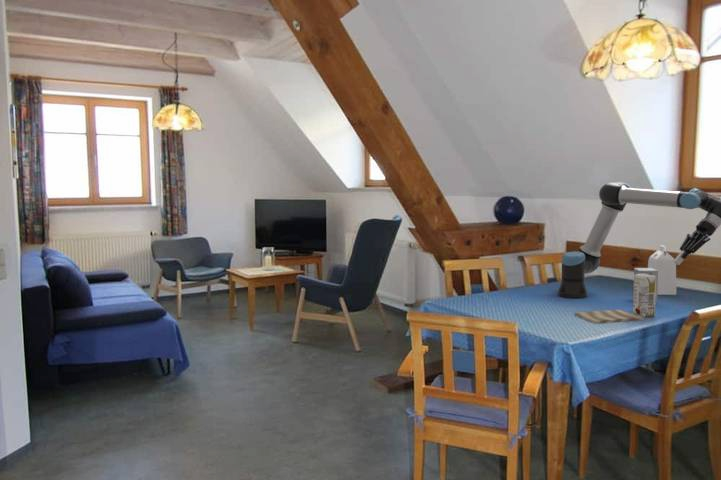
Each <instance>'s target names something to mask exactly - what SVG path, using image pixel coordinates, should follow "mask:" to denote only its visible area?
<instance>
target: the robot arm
mask: <svg viewBox="0 0 721 480" xmlns="http://www.w3.org/2000/svg"><path fill="white" fill-rule="evenodd" d="M598 196H599V200H601V206H602V207H601V209H600V210H599V213H598V215H597V218H596V220H595V222H594V223H593V226H592V228H591V230H590V232H589V234H588V237H587V239H586V241H585V243H584V244H583V245H581V246H579V249H578V251H568V252H565V253H563V254H562V256H561V280H560V281H561V282H560V284H559V287H558V290H557V295H558V296H559V297H561V298H562V297H563V298H567V299H584V298H587V297H588V289H587V286H586V283H585V275H586V274H590V273H593V272H594V271H596V270H597V269H598V268H599V267H600V263H601V260H600V259H601V256H602V254H601V249H602V247H603V245H604V243H605V241H606V239H607V237H608V236H609V233H610V232H611V229H612V227H613V225H614V223H615V221H616V218H617V217H618V215H619V213H621V212H623V211H624V210H625V208H626V206H627V204H632V205H645V206H656V207H657V206H659V207H670V208H680V209H681V208H682V209H686V210H694V209H701V210H702V211H705V212H707V213H706V214H705V215H704V216H703V217H702V219H701V220H700V221H699V222H698V224H697V225H696V226H695V231H693V232H692V234H690V233H687V234H686V237H685V239H684V241H683V242H682V244H681V246H679V250H680V252H679V253H678V255H677V256H676V257H675V258H674V262H675V263H676V266H680V265H681V264H682V262H684V260H685V259H686V258H687V257H688V256H689V255H692V254H695V253H696V252H697V251H698V250H700V248H702V247H703V246H704V245H705V244H706V243H707V242H709V241H711V238H710V237H711V236H712V235H714V233H715V232H716V231H717V230H718V228H719V227H720V226H721V197H717V196H716V197H715V196H713V195H712V194H709V193H707V192H705V191H703V190H702V189H700V188H697V187H694V188H692V189H690V190H689V191H677V190H662V189H648V188H632V186H631V185H630V184H628V183H626V182H623V181H617V182H607V183H605V184H604V185H603V186H601V188H600V190H599V193H598Z"/></svg>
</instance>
